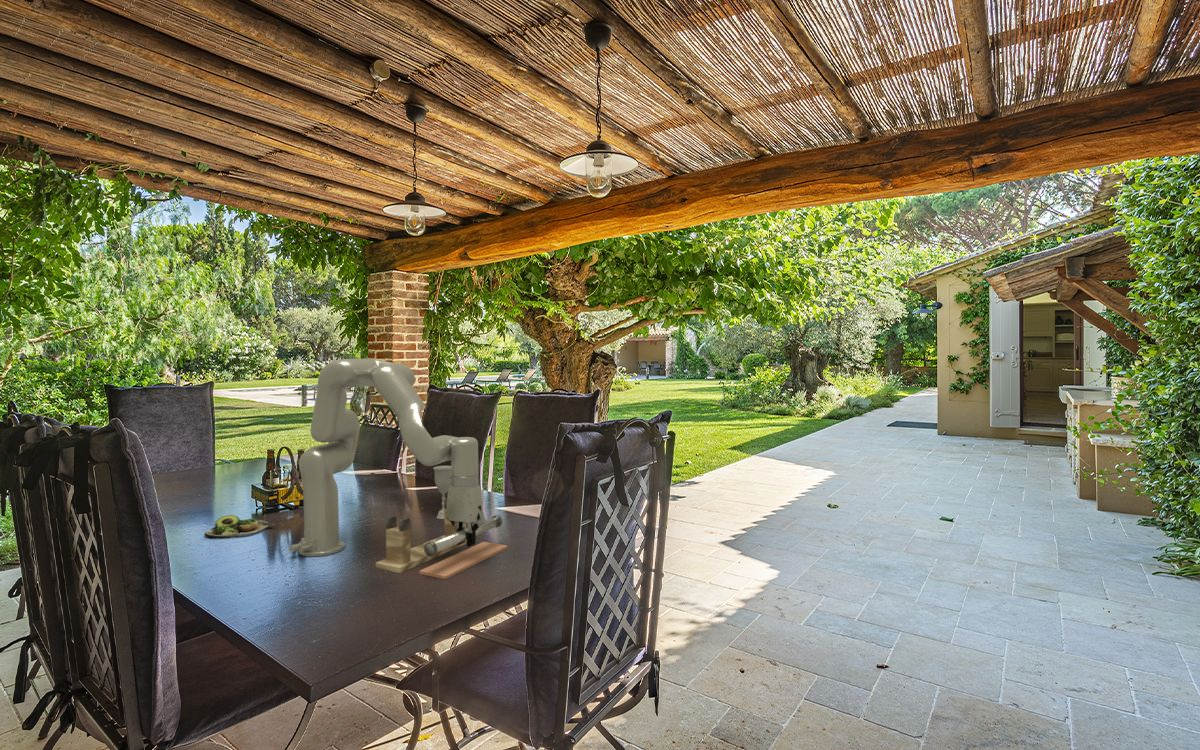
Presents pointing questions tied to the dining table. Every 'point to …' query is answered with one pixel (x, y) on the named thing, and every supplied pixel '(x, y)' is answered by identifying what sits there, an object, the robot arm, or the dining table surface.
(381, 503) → the dining table surface
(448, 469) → the chalice
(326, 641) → the dining table surface
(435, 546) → the steel rail
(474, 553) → the terracotta mat
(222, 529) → the salad plate
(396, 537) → the rail stand
